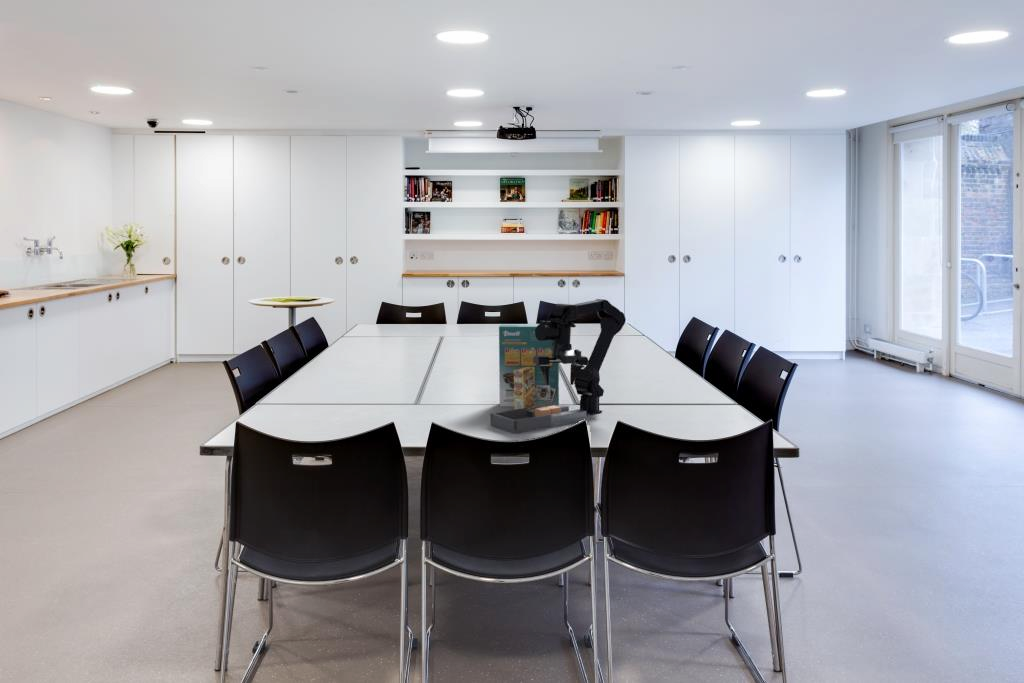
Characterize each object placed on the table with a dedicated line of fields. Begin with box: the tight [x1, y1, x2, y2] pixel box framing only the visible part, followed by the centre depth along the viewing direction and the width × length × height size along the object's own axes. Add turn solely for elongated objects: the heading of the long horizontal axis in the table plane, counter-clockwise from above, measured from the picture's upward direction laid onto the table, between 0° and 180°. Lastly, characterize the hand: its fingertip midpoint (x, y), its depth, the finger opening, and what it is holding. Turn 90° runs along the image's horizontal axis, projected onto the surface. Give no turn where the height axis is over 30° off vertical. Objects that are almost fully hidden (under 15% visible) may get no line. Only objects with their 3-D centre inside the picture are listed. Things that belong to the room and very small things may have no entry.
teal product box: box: [498, 324, 560, 408], centre depth 315 cm, size 22×6×30 cm, turn 84°
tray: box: [490, 408, 552, 435], centre depth 284 cm, size 15×14×4 cm
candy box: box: [513, 367, 536, 410], centre depth 309 cm, size 9×4×15 cm, turn 150°
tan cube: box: [534, 407, 551, 417], centre depth 289 cm, size 4×4×4 cm
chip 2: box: [546, 405, 561, 414], centre depth 292 cm, size 4×4×4 cm
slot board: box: [528, 404, 588, 428], centre depth 293 cm, size 16×14×3 cm
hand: (559, 384), depth 294 cm, fingers open, 9 cm apart
